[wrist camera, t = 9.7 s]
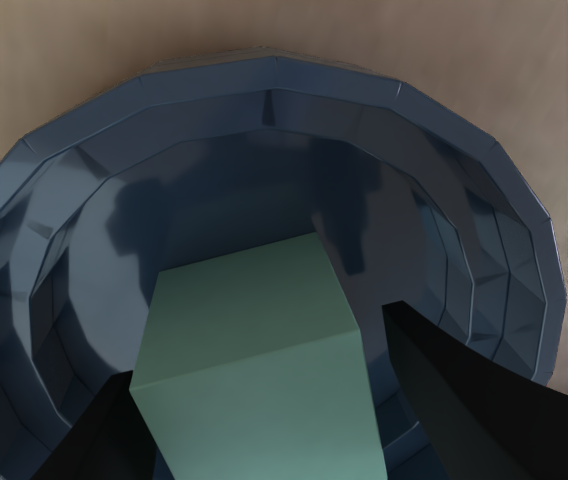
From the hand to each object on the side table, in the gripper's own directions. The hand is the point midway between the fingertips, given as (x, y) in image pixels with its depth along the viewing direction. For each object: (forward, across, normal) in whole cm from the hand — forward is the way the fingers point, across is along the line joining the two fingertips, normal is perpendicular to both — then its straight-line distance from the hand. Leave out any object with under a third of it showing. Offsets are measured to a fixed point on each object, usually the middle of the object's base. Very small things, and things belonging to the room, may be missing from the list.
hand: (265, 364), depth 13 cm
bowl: (+3, 0, 0) cm, 3 cm away
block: (+2, 0, 0) cm, 2 cm away
